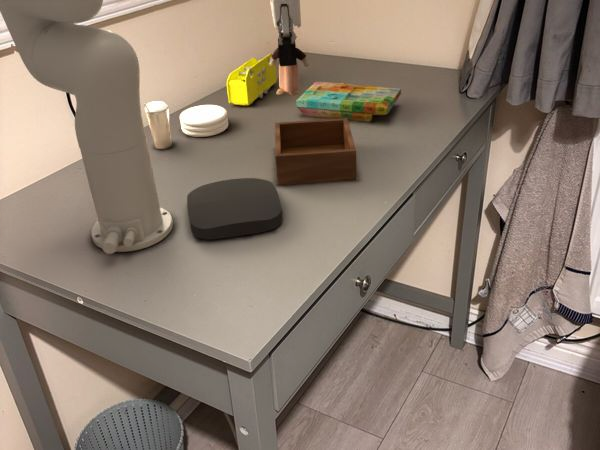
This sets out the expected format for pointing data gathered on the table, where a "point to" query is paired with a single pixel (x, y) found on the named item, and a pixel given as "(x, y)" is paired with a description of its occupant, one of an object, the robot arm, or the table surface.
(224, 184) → the media streaming box
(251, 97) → the yellow toy chassis
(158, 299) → the table surface
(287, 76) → the grandmother figurine
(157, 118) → the milkshake
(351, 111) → the puzzle game
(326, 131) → the crate
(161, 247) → the table surface
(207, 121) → the white short cylinder
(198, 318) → the table surface
